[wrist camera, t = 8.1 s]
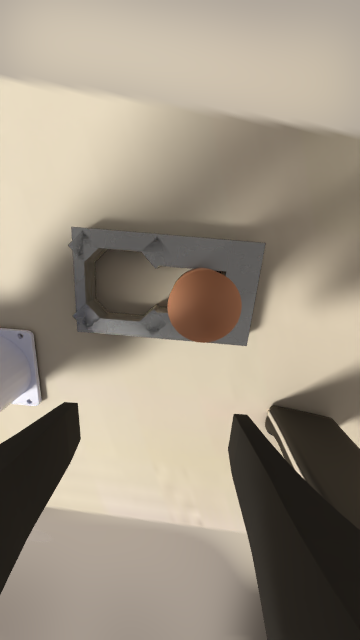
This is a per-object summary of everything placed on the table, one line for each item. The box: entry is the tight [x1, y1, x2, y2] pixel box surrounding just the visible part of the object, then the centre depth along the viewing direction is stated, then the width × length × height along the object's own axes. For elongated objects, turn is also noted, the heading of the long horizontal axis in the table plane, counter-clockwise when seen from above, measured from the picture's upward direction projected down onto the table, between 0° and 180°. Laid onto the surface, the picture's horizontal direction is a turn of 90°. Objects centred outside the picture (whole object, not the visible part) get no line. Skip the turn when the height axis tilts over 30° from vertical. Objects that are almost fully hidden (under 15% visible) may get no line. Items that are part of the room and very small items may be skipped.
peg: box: [168, 268, 242, 343], centre depth 15 cm, size 4×4×6 cm
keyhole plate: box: [68, 227, 265, 346], centre depth 17 cm, size 14×8×2 cm, turn 85°
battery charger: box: [265, 406, 360, 530], centre depth 16 cm, size 7×4×11 cm, turn 77°
